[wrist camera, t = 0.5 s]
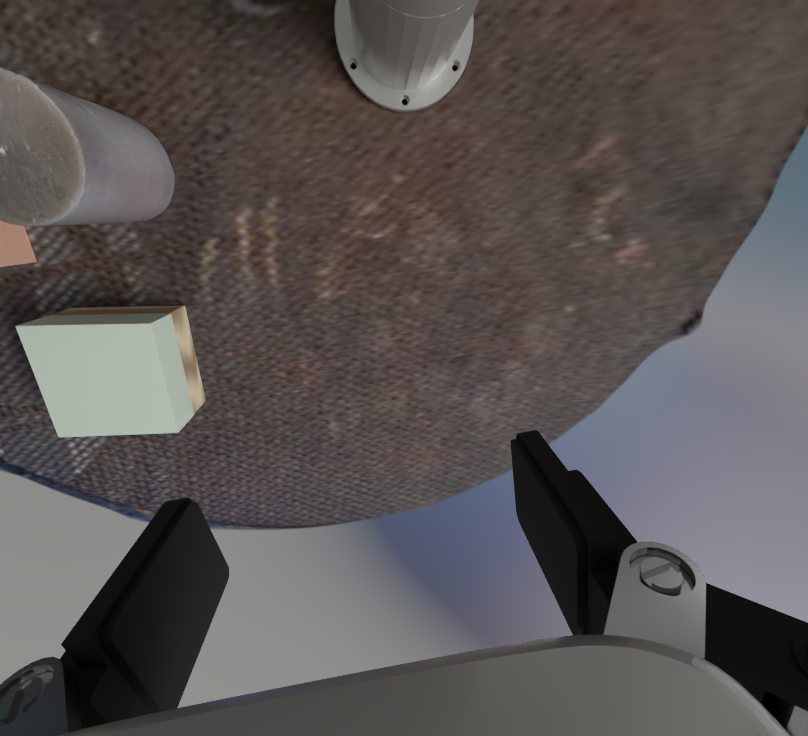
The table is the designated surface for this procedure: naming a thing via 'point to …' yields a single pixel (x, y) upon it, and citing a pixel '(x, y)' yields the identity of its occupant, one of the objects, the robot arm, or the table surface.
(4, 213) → the pillar candle
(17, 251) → the terracotta cube
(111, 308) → the birch slab
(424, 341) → the table surface
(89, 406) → the sage slab
